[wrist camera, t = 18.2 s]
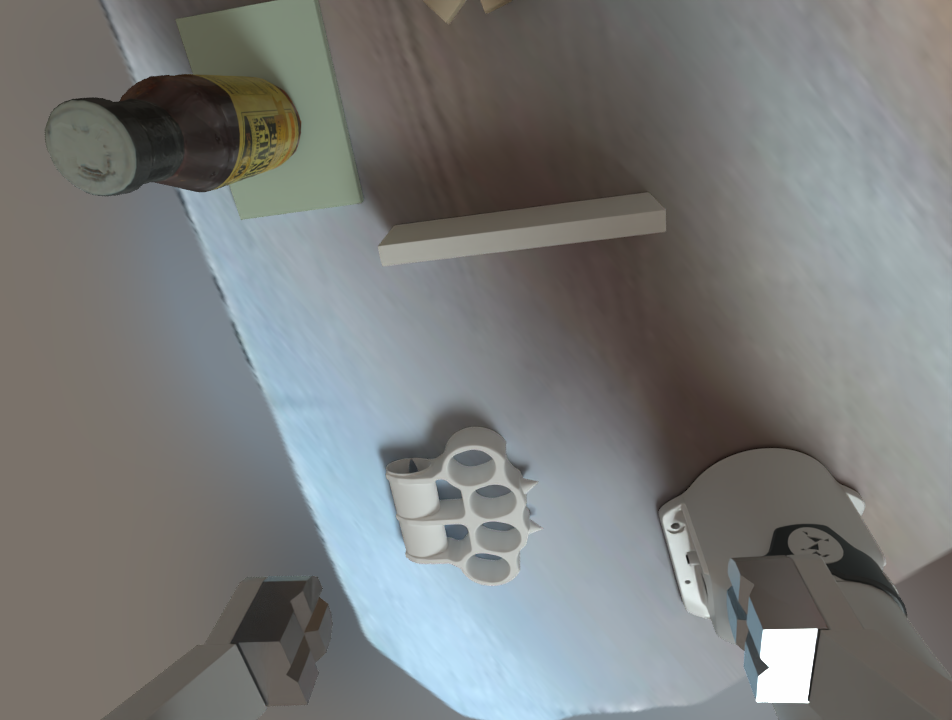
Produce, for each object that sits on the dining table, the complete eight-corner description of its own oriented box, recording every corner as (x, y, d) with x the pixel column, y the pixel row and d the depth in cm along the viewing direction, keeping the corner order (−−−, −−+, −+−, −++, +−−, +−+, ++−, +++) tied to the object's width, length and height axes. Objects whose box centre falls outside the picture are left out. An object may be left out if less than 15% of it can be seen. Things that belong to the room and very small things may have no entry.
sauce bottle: (277, 183, 45) (117, 261, 27) (208, 125, 43) (-10, 167, 25) (325, 115, 42) (184, 153, 25) (253, 51, 41) (47, 41, 23)
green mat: (364, 200, 46) (360, 203, 45) (246, 216, 47) (240, 219, 46) (316, -5, 40) (312, -7, 39) (182, 20, 41) (175, 19, 40)
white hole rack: (383, 430, 56) (533, 419, 55) (415, 565, 64) (547, 559, 63) (375, 450, 54) (533, 440, 52) (410, 589, 61) (548, 584, 60)
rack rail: (648, 211, 45) (666, 231, 39) (398, 243, 47) (382, 266, 42) (648, 192, 44) (666, 209, 39) (394, 225, 47) (377, 246, 41)
